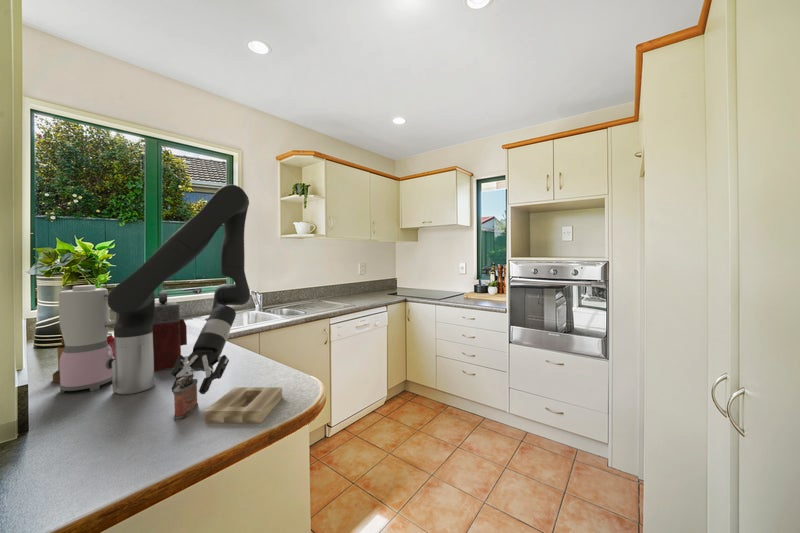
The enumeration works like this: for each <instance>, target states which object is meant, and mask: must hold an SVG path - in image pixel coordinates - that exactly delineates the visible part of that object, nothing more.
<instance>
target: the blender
mask: <svg viewBox="0 0 800 533" xmlns="http://www.w3.org/2000/svg"><path fill="white" fill-rule="evenodd" d="M108 290H109V289H107V288H102V287H101V288H100V287H99V288H96V285H95V284H84V285H83V284H82V285H73V286H72V289H68V290H67V289H65V290H62V291H60V292H59V294H58V319H59V321H58V322H59V328H61V332H62V335H61V337H62V336H63V339H64V343H65V348H64V351H63V353H62V354H61V357H60V360H59V367H60V382H59V383H60V384H59V390H60V393H61V394H63V393H65V392H73V391H79V390H80V391H81V390H86V389H89V392H94V391H98V390H100V386H102V385H105V384H107V383H109V382H111V383H113V382H112V361H114V360H115V359H113V352H112V349H111V347H110V346H109V344H108V342H107V334H108V333H109V329H110V327H111V328H112V327H115V326H116V324H117V322H118V320H119V313H116V312H114V311H113V313H114V314H113V315H114V317H113V318H114V319H113V320H110V319H111V317H110V316H111V313H110V310H111V309H110V307H109V306H108V301H107V300H108V296H109V291H108Z"/></svg>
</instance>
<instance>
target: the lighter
mask: <svg viewBox="0 0 800 533" xmlns="http://www.w3.org/2000/svg"><path fill="white" fill-rule="evenodd" d="M176 384H177V387H176V388H175V389H174V390H173V392H172V394H173V396H174V400H173V401H174V415H173V420H174V421H182V420H185V419H187V418H188V417H189V416H191V415H192V414H193V413H194V412H195V411H197V409H198V408H199V403H198V379H197V378H194V373H189V374H187V375H184V374H183V376H182V378H180V379H179V380H177V382H176Z"/></svg>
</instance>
